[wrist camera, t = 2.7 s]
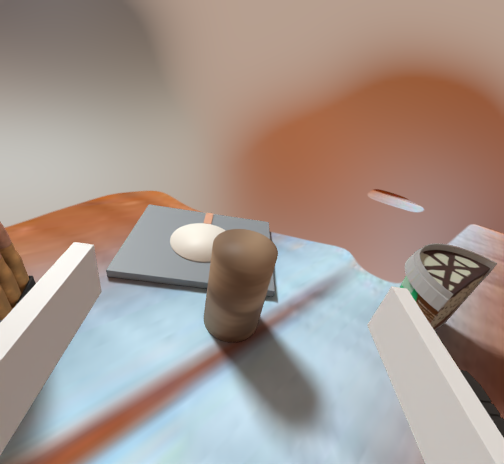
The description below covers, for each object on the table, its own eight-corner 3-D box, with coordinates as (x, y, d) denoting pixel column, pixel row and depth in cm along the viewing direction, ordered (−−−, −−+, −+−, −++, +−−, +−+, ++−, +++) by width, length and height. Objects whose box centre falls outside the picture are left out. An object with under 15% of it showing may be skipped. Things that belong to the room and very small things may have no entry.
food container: (407, 288, 41) (445, 232, 35) (449, 319, 37) (499, 262, 31) (354, 317, 34) (390, 254, 29) (398, 360, 30) (450, 296, 25)
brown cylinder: (257, 301, 34) (275, 233, 28) (258, 345, 29) (280, 274, 23) (207, 295, 33) (216, 225, 28) (199, 339, 28) (208, 264, 23)
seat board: (267, 227, 48) (268, 221, 47) (272, 296, 35) (275, 289, 34) (149, 209, 46) (148, 203, 45) (107, 276, 33) (105, 268, 32)
